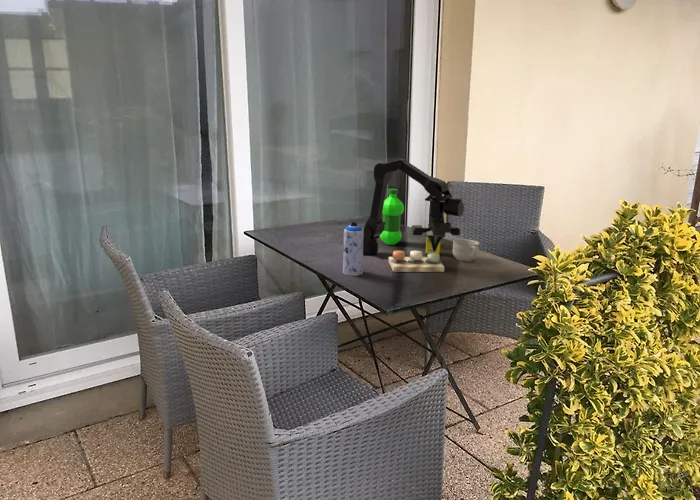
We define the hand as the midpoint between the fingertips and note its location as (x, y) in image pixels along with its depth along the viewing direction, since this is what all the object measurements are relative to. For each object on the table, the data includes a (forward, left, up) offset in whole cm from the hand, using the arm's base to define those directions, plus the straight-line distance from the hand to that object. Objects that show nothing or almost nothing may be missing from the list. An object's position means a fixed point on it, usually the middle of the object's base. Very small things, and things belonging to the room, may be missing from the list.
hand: (434, 251), depth 240 cm
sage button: (0, 0, -4) cm, 4 cm away
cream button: (-7, 0, -3) cm, 8 cm away
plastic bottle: (-12, +36, -7) cm, 39 cm away
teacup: (+16, +9, -7) cm, 19 cm away
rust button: (-14, 0, -3) cm, 14 cm away
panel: (-7, 0, -6) cm, 10 cm away
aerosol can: (-33, -8, -7) cm, 35 cm away
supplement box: (+4, +19, -7) cm, 21 cm away
